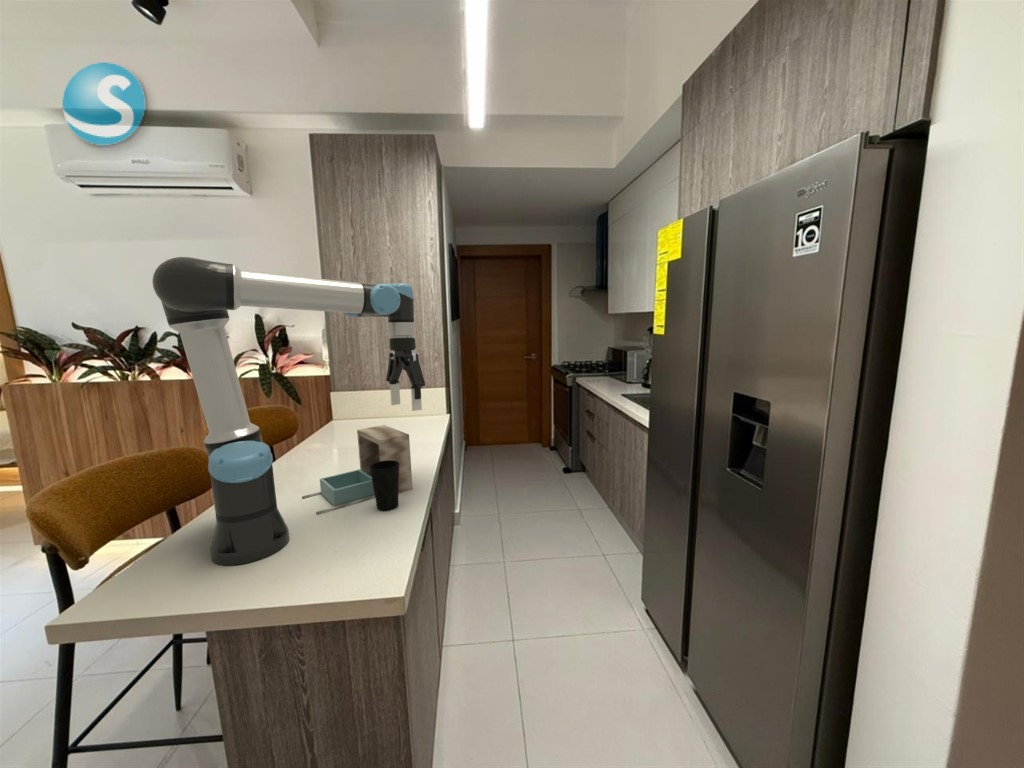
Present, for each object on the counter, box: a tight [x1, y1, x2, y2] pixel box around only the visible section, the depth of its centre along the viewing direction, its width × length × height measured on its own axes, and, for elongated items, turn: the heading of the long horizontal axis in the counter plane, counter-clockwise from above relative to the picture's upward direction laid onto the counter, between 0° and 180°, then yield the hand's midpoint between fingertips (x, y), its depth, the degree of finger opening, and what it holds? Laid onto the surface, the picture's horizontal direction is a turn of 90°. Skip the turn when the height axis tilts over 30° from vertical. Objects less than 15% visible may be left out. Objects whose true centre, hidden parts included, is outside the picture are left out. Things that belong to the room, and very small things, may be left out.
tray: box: [319, 468, 375, 507], centre depth 123 cm, size 12×13×5 cm
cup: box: [370, 460, 400, 512], centre depth 114 cm, size 8×8×12 cm
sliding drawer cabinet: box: [301, 424, 414, 515], centre depth 124 cm, size 27×18×17 cm, turn 130°
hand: (406, 407), depth 127 cm, fingers open, 13 cm apart
